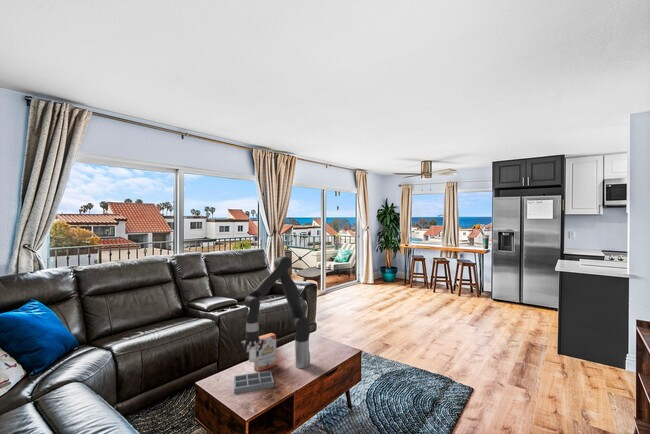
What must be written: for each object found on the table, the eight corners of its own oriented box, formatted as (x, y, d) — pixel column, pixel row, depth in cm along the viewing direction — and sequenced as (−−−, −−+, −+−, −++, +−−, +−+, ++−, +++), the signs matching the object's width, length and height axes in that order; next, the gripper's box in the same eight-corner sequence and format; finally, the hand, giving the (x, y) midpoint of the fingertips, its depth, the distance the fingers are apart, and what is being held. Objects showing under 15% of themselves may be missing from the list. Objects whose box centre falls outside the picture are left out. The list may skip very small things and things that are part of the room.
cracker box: (258, 372, 204) (258, 340, 205) (253, 369, 209) (253, 337, 209) (276, 365, 214) (276, 334, 214) (271, 362, 219) (271, 332, 219)
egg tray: (270, 374, 201) (270, 370, 201) (273, 386, 187) (273, 382, 187) (234, 380, 195) (234, 376, 195) (234, 393, 180) (234, 388, 180)
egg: (256, 358, 197) (256, 345, 197) (256, 361, 193) (256, 348, 193) (248, 359, 196) (248, 346, 196) (249, 362, 192) (248, 349, 192)
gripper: (263, 326, 200) (263, 353, 200) (240, 328, 196) (240, 356, 196) (264, 330, 193) (265, 358, 193) (240, 332, 189) (240, 361, 189)
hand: (252, 357), depth 194 cm, fingers closed on egg, 4 cm apart
